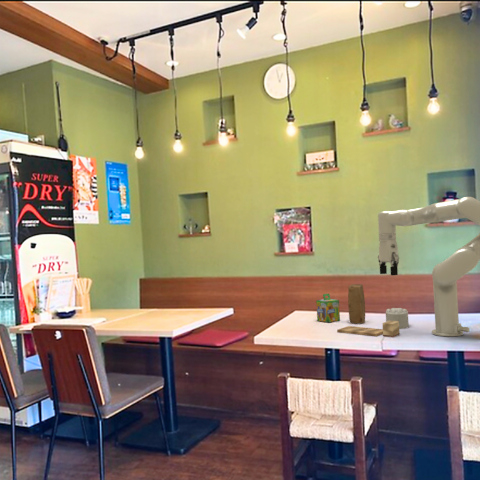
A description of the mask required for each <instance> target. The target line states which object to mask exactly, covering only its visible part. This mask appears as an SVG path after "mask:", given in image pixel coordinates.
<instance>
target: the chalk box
mask: <svg viewBox="0 0 480 480" xmlns="http://www.w3.org/2000/svg"><path fill="white" fill-rule="evenodd" d="M326 296H327V297H326ZM322 297H323V298H322V299H316V300H315V302H316V318H317V319H316V321H317V322H322V323H337V322H341V318H340V316H341V315H340V313H341V312H340V300H339V299H335V298H334V299H332V298H331V296H330V293H324V294H322Z"/></svg>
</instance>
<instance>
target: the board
mask: <svg viewBox="0 0 480 480" xmlns="http://www.w3.org/2000/svg"><path fill="white" fill-rule="evenodd" d="M336 333H340V334H341V333H342V334H350V335H361V336H367V337H378V336H381V335H382V336H383V328H375V327H373V328H372V327H366V326H365V327H364V326H353V325H352V326H351V325H347V326H344V327H341V328H337V330H336Z"/></svg>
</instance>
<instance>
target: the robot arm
mask: <svg viewBox="0 0 480 480" xmlns="http://www.w3.org/2000/svg"><path fill="white" fill-rule="evenodd" d="M377 218H378V219H377V222H378V223H377V224H378V241H379V244H378V245H379V247H378V256H377V259H378V260H377V261H378V263H379V264H378V265H379V274H380V275H386V274H388V273H387V271H388V270H387V269H388V268H387V265H386V264H387V263H389V264H390V276H398V275H399V274H398V273H399V270H398V267H399V261H400V257H399V247H398V242H397V235H396V234H397V229H396V226H397V227H411V226H412V227H413V226H417V225H424V224H429V223H430V224H431V223H432V224H433V223H440V222H441V223H442V222H447V221H452V220H453V221H454V220H460V219H465V218H466V219H468V220H469V221H471V222H473V223H474V224H476V225H477V226H479V227H480V200H478V199H477V198H474V197H473V196H464V197H462V198H458V199H454V200H453V199H452V200H448V201H441V202H435V203H432V204H429V205H426V206H423V207H419V208H413V209H399V210H398V209H397V210H393V211H391V210H384V211H380V212H378V215H377ZM479 261H480V232H479V233H478V235H476V236H475V237H474V238H473V239H471V240H469V241H468V242H467V243H466V244H464V245H463V246H462V247H460V248H458V249H456V250H455V252H454V253H453V254H451V255H450V256H448V257H447V258H446V259H445V260H443V261H441V262H439V263H437V264H436V265H435V266H434V267H433V268H432V273H431V274H432V275H431V276H432V285H433V305H434V309H433V310H434V323H435V324H434V325H435V328H434V329H432V330H431V334H433V335H435V336H440V337H460V336H463V335H464V332H466V333H469V332H470V327H468V326H462V323H461V322H459V321H460V320H459V318H460V317H459V302H458V286H457V281H458V280H460V279H461V278H463V277H464V276H466V275H467V274H468V273H470V271H472V270H473V269H474V268H476V266H477V265H478V264H479Z"/></svg>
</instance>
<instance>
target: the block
mask: <svg viewBox="0 0 480 480" xmlns="http://www.w3.org/2000/svg"><path fill="white" fill-rule="evenodd" d="M363 286H364V285H363V284H361V283H359V284H354V283H353V284H350V285H349V286H348V287H347V289H348V294H347V300H348V301H347V302H348V303H347V305H348V319H349V323H351V324H357V325H358V324H359V325H360V324H364V323H365V320H366V303H365V302H366V298H365V291H364V287H363Z"/></svg>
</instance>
